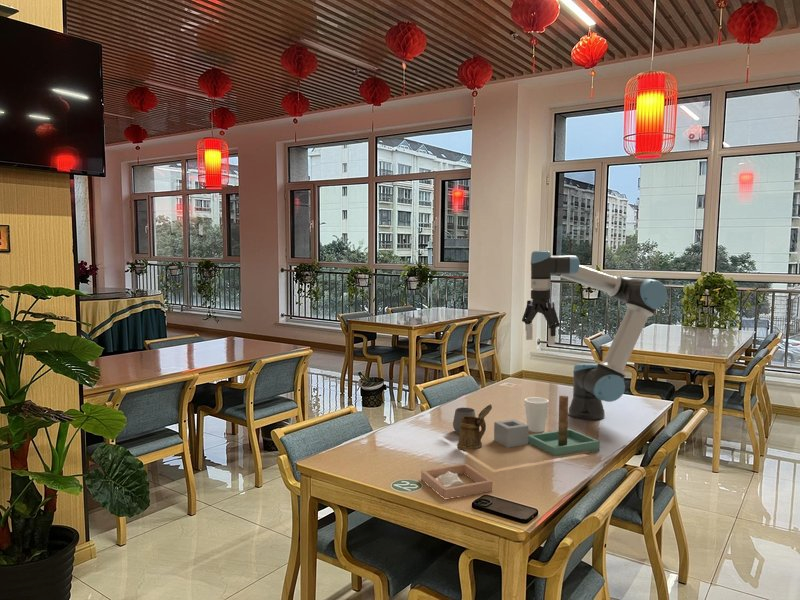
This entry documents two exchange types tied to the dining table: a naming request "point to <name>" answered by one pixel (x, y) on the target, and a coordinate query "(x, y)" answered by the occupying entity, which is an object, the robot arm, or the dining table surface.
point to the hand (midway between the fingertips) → (540, 341)
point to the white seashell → (449, 480)
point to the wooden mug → (472, 430)
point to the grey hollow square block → (511, 433)
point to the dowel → (563, 420)
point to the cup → (458, 417)
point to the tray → (574, 444)
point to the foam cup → (536, 413)
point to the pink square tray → (479, 487)
